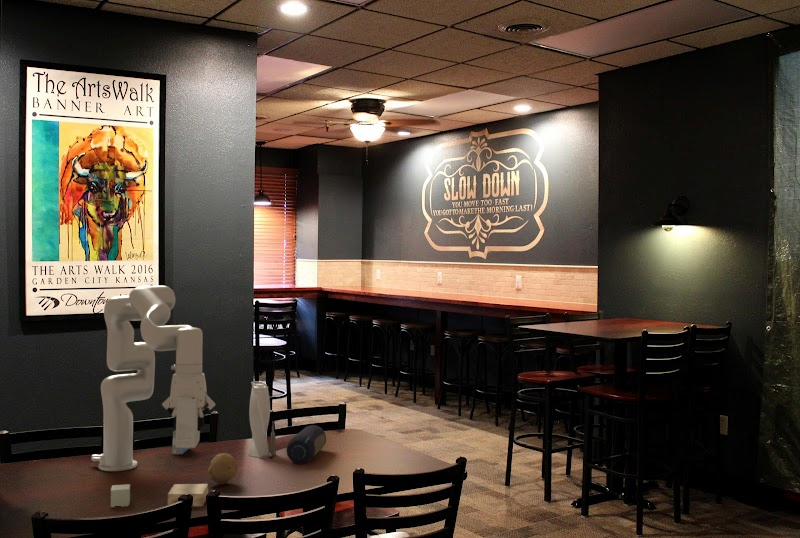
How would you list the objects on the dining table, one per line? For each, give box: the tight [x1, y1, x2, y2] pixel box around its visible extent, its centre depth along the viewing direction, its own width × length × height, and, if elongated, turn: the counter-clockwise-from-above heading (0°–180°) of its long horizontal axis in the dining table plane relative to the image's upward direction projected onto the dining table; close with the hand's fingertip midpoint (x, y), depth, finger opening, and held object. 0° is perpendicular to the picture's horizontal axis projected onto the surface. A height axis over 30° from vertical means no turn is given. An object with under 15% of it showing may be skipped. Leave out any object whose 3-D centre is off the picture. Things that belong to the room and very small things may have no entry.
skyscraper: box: [248, 380, 277, 460], centre depth 287 cm, size 8×8×28 cm
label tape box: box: [171, 430, 190, 455], centre depth 292 cm, size 9×4×12 cm, turn 178°
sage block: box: [110, 483, 131, 508], centre depth 230 cm, size 5×5×5 cm
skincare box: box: [176, 397, 201, 449], centre depth 233 cm, size 8×6×15 cm
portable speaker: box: [286, 424, 327, 464], centre depth 286 cm, size 25×10×10 cm, turn 172°
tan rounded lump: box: [206, 452, 238, 485], centre depth 250 cm, size 9×9×10 cm
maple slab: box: [167, 483, 209, 507], centre depth 233 cm, size 10×10×4 cm
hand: (188, 429), depth 233 cm, fingers closed on skincare box, 6 cm apart
